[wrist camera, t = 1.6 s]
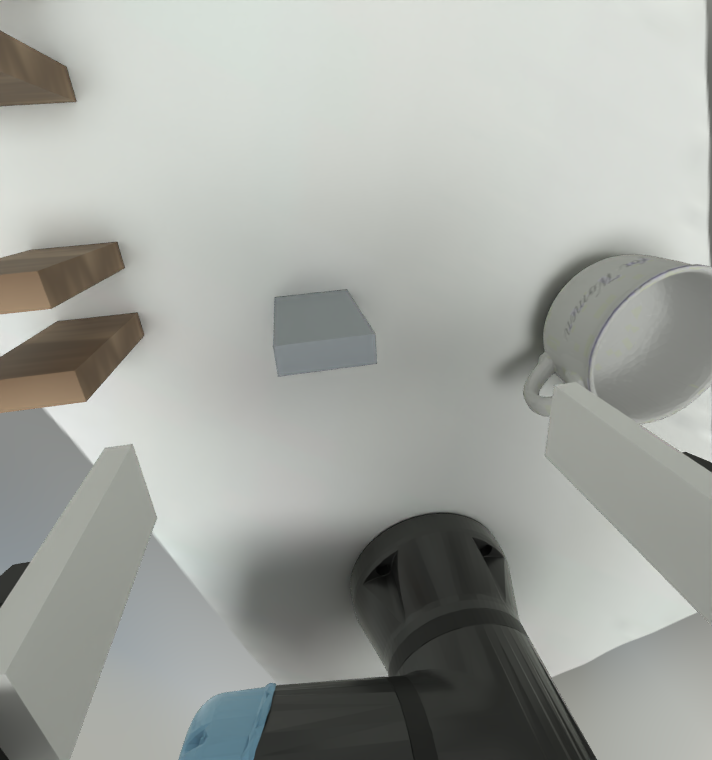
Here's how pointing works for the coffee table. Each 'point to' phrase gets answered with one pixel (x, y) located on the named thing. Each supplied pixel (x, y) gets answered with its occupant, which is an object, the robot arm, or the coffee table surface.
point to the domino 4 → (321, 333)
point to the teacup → (630, 336)
